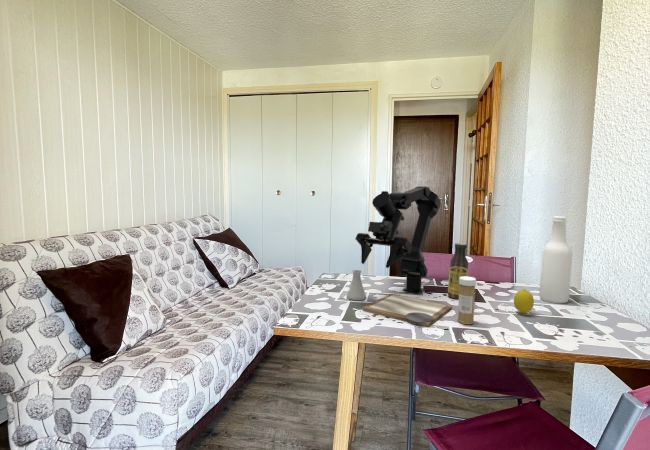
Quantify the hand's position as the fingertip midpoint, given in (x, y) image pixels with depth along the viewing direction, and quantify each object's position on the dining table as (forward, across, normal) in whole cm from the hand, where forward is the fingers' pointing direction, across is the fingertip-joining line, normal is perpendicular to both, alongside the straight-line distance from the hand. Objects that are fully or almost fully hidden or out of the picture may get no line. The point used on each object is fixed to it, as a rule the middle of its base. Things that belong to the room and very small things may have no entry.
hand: (374, 265), depth 115 cm
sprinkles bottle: (+7, +27, +16) cm, 32 cm away
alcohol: (-19, +43, +50) cm, 69 cm away
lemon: (-5, +38, +31) cm, 50 cm away
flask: (+8, -11, +14) cm, 20 cm away
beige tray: (+8, +9, +14) cm, 18 cm away
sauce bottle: (-7, +16, +34) cm, 38 cm away
